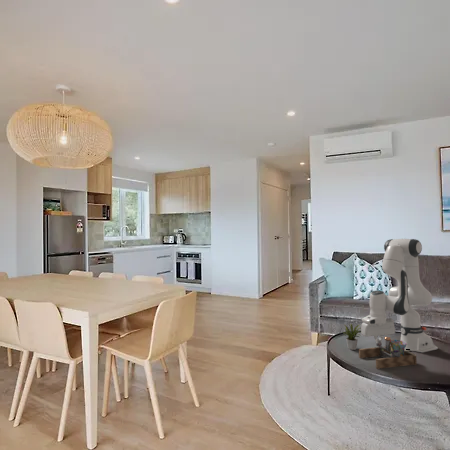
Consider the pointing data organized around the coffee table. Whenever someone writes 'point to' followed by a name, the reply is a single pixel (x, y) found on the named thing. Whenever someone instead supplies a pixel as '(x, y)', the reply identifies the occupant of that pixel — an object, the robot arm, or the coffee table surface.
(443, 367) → the coffee table surface
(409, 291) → the robot arm
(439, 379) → the coffee table surface
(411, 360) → the tray
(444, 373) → the coffee table surface
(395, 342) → the mug
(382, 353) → the ram
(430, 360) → the coffee table surface
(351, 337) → the house plant
